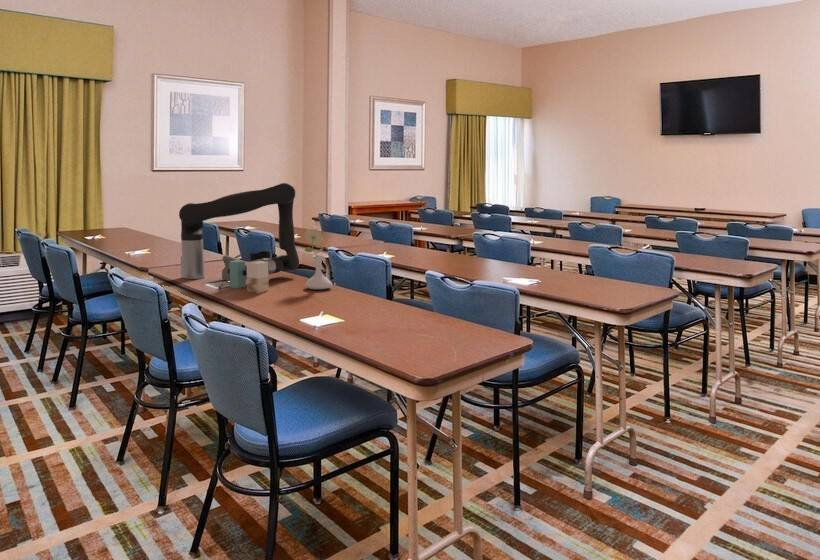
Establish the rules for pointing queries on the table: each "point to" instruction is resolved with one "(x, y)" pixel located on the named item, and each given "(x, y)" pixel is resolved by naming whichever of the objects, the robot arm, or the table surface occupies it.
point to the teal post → (237, 274)
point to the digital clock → (225, 270)
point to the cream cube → (257, 269)
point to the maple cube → (257, 284)
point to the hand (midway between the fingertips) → (235, 272)
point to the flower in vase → (316, 262)
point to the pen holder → (259, 255)
